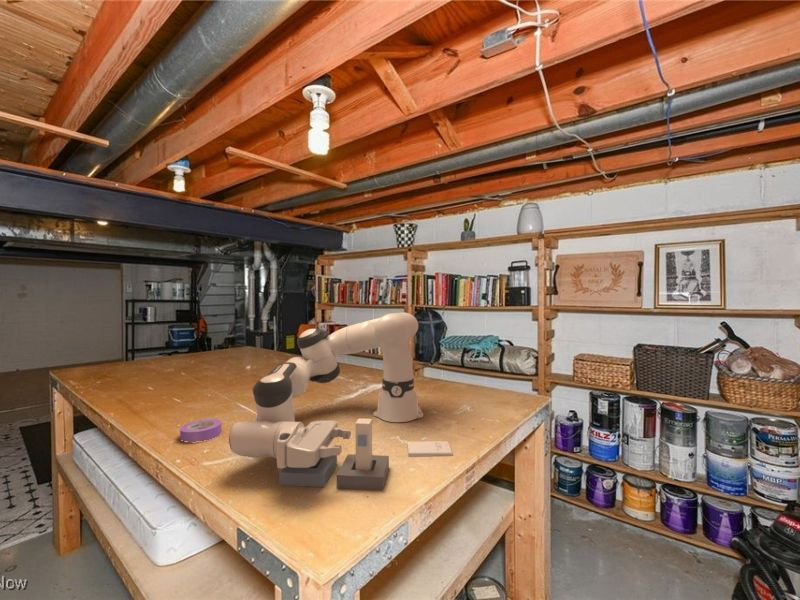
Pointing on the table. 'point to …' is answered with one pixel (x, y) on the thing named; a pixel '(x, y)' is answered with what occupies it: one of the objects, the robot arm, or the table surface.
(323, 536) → the table surface
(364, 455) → the plug
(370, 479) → the socket
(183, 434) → the masking tape
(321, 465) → the socket
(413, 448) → the external hard drive
